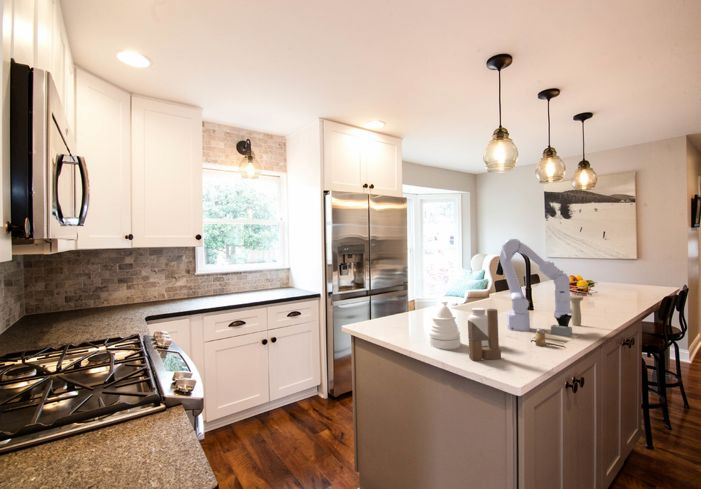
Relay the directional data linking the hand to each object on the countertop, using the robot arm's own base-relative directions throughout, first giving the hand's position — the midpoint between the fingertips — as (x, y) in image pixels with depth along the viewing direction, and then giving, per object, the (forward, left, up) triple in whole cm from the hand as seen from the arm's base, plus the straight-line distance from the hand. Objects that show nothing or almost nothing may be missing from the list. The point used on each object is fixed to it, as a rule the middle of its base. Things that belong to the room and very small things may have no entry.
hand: (563, 331), depth 148 cm
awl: (-13, -17, -2) cm, 21 cm away
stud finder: (-2, -3, -1) cm, 4 cm away
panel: (-4, -6, -2) cm, 8 cm away
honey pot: (-50, -23, -2) cm, 56 cm away
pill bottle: (-36, -20, -2) cm, 42 cm away
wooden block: (-35, -38, -2) cm, 52 cm away
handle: (+10, +17, -2) cm, 19 cm away
